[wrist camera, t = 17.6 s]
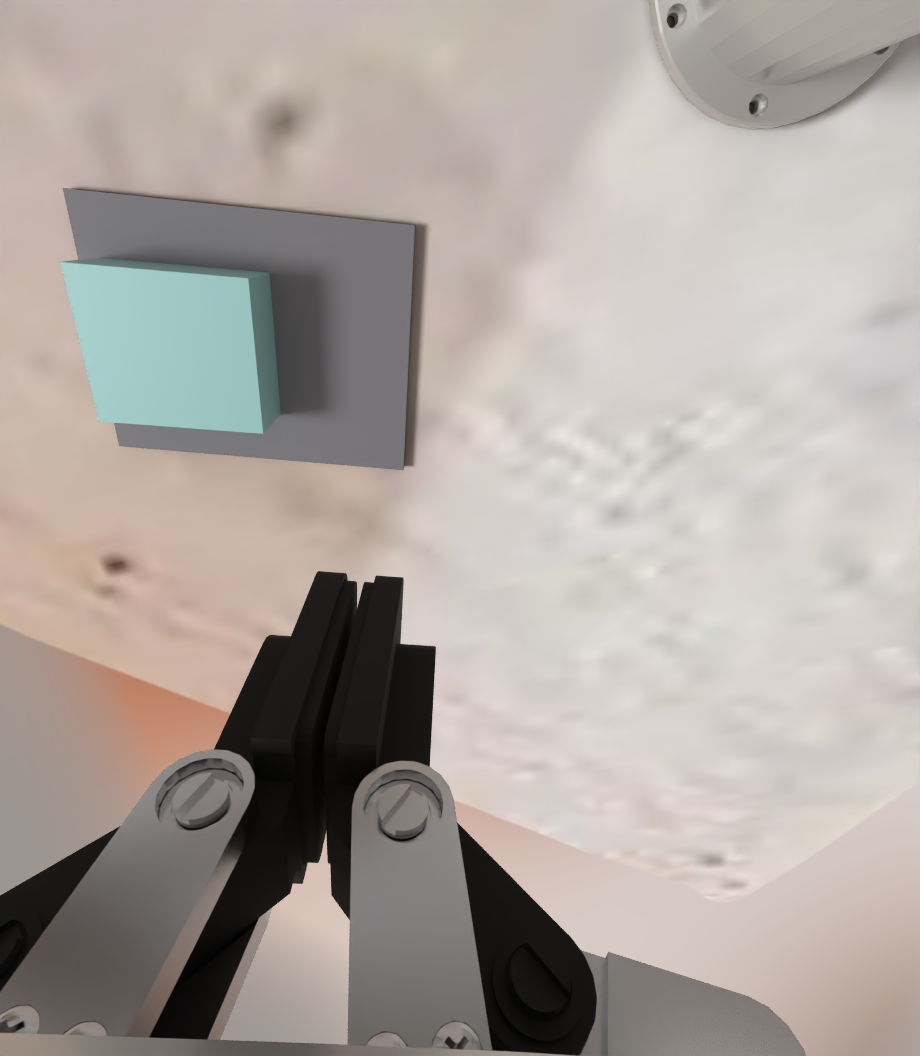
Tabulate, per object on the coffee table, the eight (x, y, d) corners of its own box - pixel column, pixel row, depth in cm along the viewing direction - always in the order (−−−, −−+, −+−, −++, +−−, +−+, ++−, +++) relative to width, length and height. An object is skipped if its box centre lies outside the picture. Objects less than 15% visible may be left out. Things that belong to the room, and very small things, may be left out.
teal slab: (269, 272, 30) (98, 257, 30) (248, 278, 27) (56, 261, 27) (280, 414, 34) (129, 403, 34) (263, 433, 31) (96, 421, 31)
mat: (70, 188, 29) (62, 188, 28) (415, 225, 30) (414, 225, 29) (124, 442, 36) (119, 445, 35) (404, 466, 36) (403, 469, 36)
